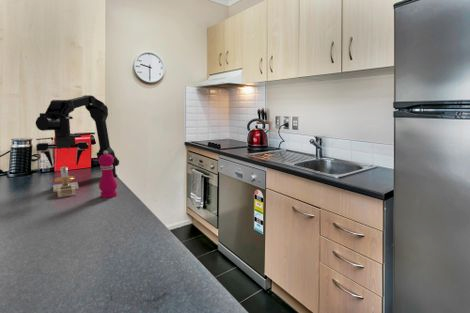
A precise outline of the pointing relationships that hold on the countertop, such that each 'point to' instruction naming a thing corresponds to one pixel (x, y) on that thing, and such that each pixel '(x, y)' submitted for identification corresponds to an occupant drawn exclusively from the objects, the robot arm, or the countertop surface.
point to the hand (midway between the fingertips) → (64, 165)
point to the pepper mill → (107, 176)
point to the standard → (64, 179)
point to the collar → (66, 191)
